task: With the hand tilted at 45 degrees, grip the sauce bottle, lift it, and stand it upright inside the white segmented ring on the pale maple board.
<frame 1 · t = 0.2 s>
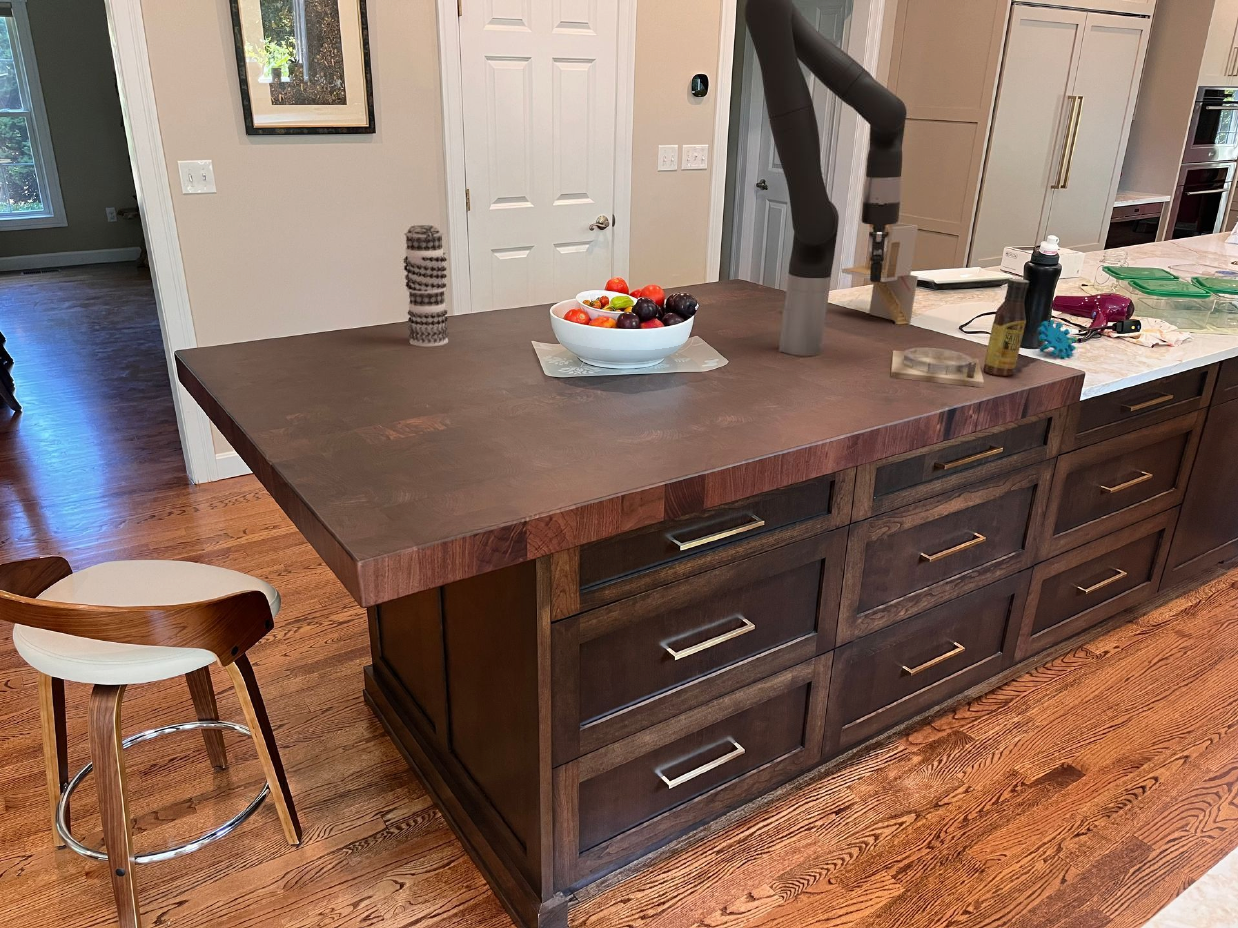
hand: (875, 278, 190), 18 cm above the countertop, tool pointing down, fingers open, 8 cm apart
sauce bottle: (998, 373, 190), on the countertop
white segmented ring: (938, 358, 188), on the maple board, point 3 cm above the countertop
teal virus model: (1054, 355, 206), on the countertop
decorative candle: (429, 342, 197), on the countertop
maple board: (935, 370, 190), on the countertop
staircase: (875, 322, 232), on the countertop
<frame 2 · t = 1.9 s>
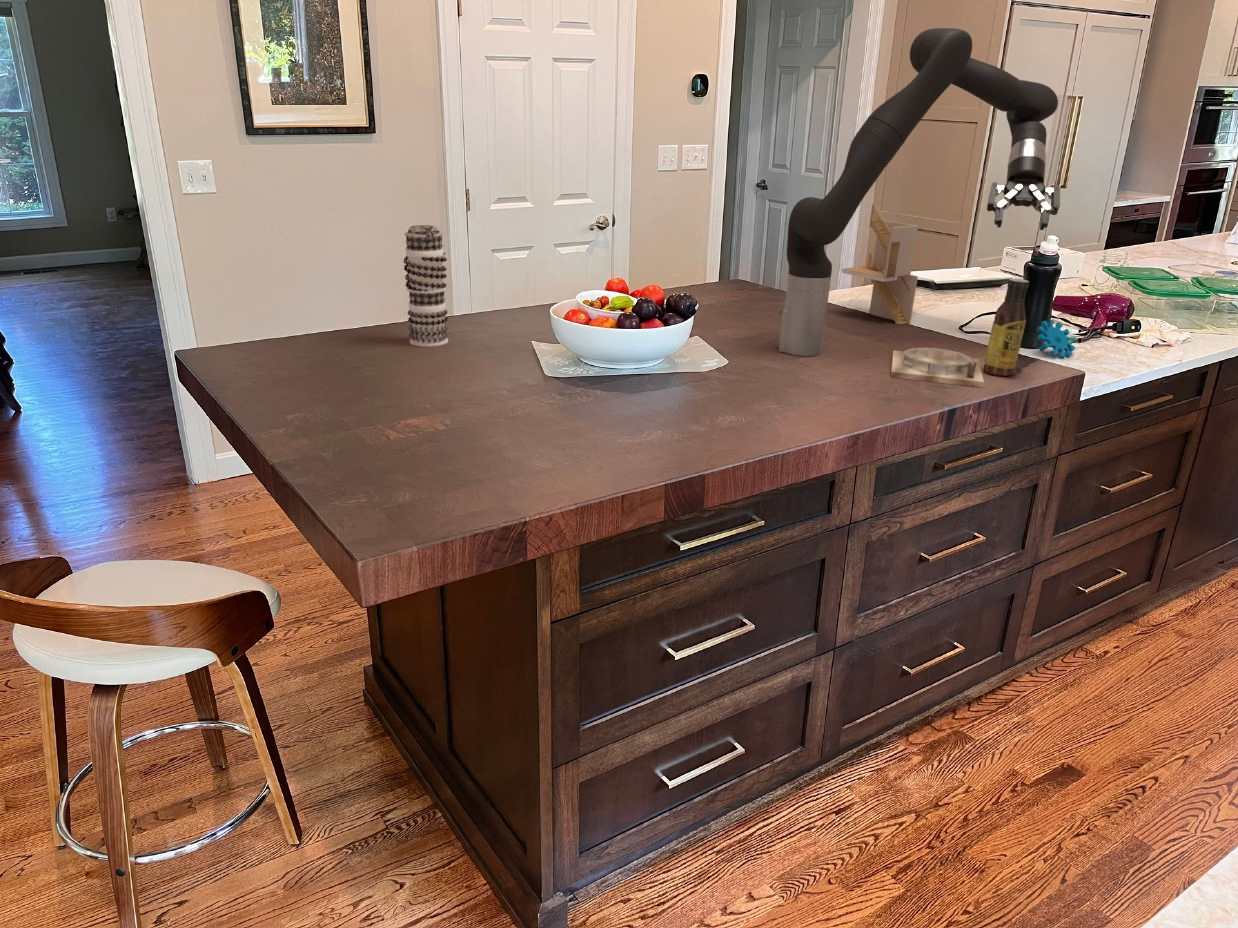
hand: (1021, 226, 189), 29 cm above the countertop, tool tilted 45°, fingers open, 8 cm apart
nothing on the countertop moved.
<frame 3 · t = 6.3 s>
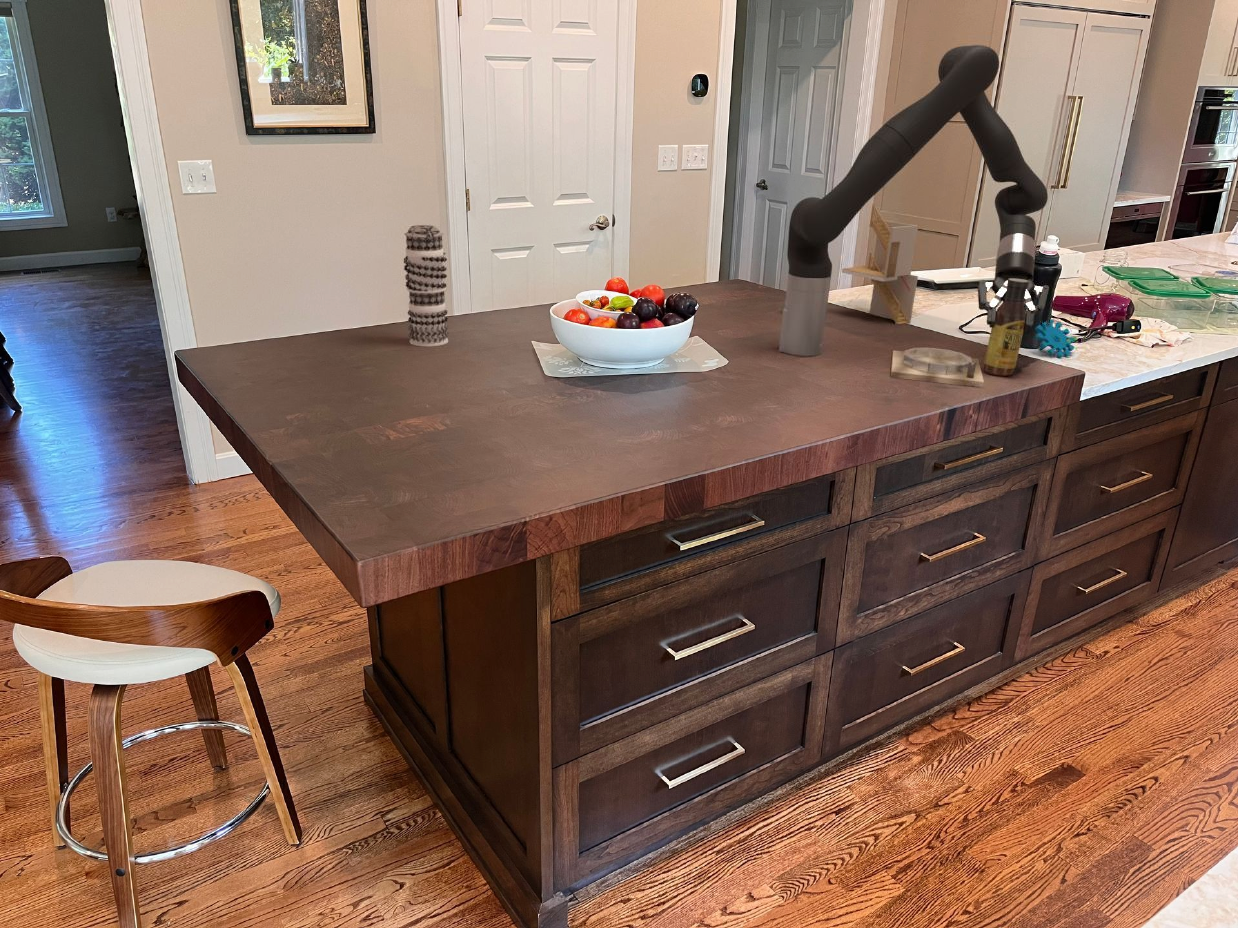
hand: (1009, 327, 184), 10 cm above the countertop, tool tilted 45°, fingers closed on sauce bottle, 6 cm apart
sauce bottle: (998, 373, 190), on the countertop, touching gripper
everything else where it was.
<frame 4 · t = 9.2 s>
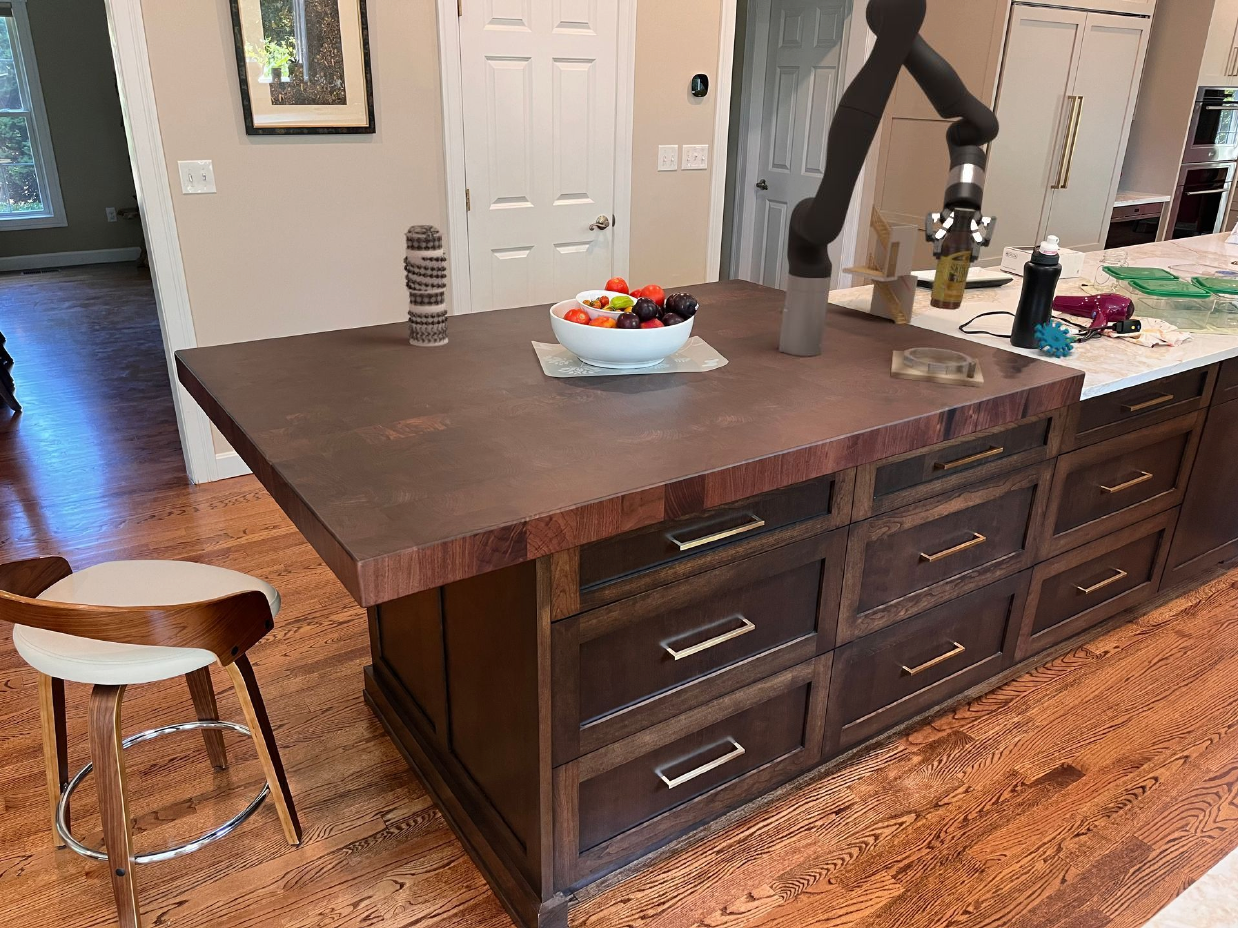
hand: (955, 258, 179), 24 cm above the countertop, tool tilted 45°, fingers closed on sauce bottle, 6 cm apart
sauce bottle: (945, 308, 185), point 13 cm above the countertop, touching gripper
when the fingers open (13 cm above the countertop, at t = 12.4 s): sauce bottle drops 1 cm, resting on maple board.
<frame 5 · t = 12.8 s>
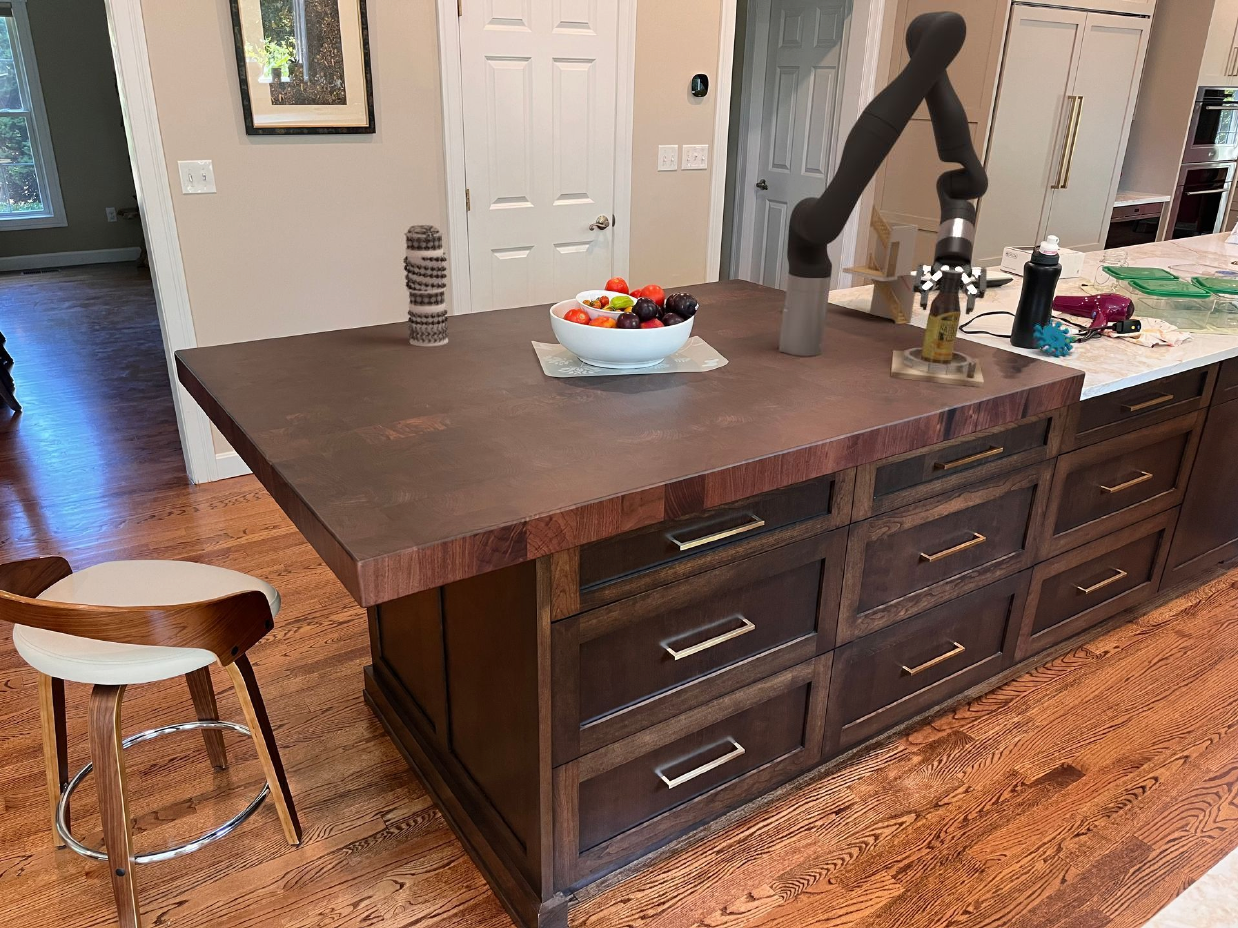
hand: (946, 310, 183), 13 cm above the countertop, tool tilted 45°, fingers open, 8 cm apart
sauce bottle: (935, 365, 189), point 1 cm above the countertop, touching maple board
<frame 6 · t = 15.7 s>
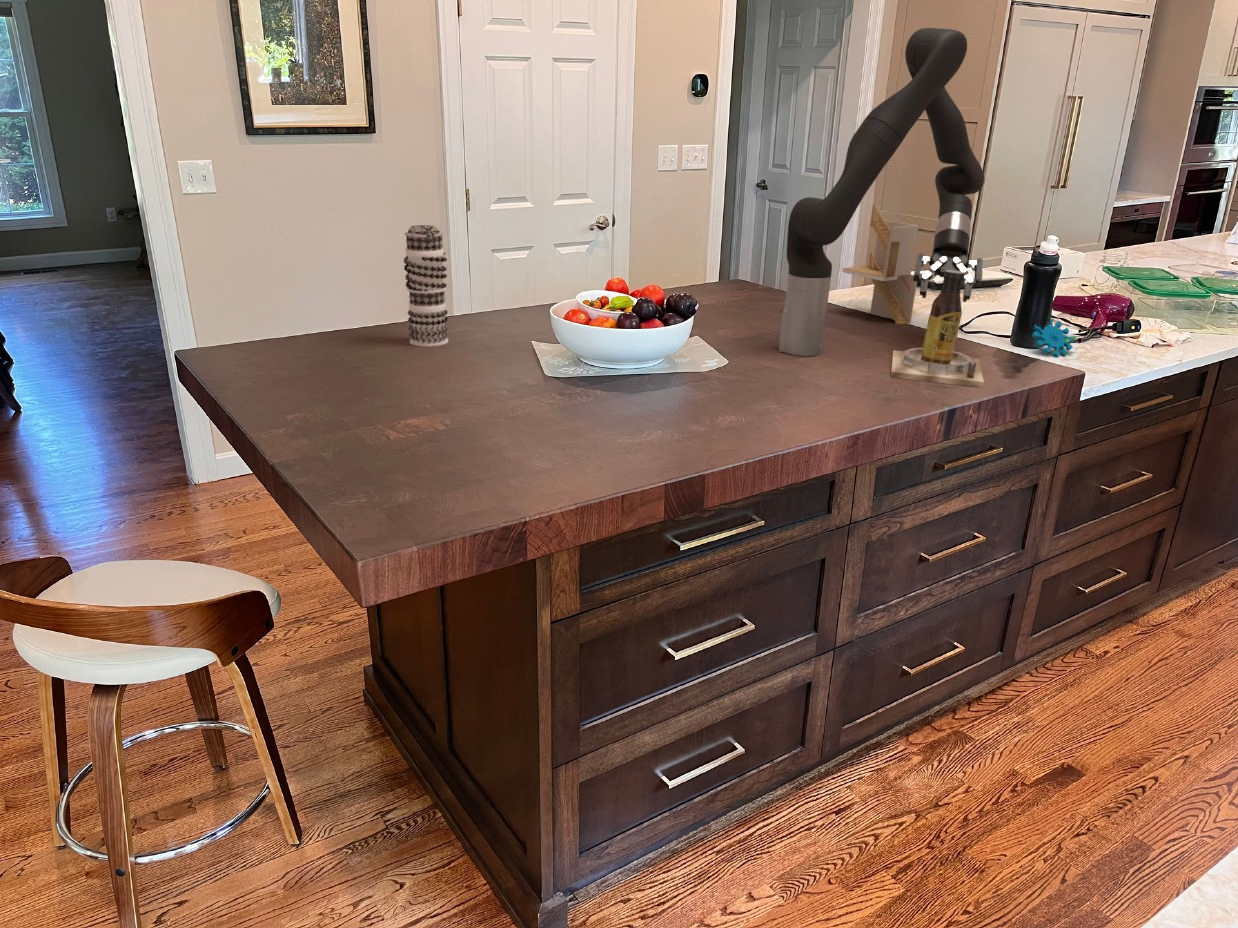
hand: (944, 298, 195), 13 cm above the countertop, tool tilted 45°, fingers open, 8 cm apart
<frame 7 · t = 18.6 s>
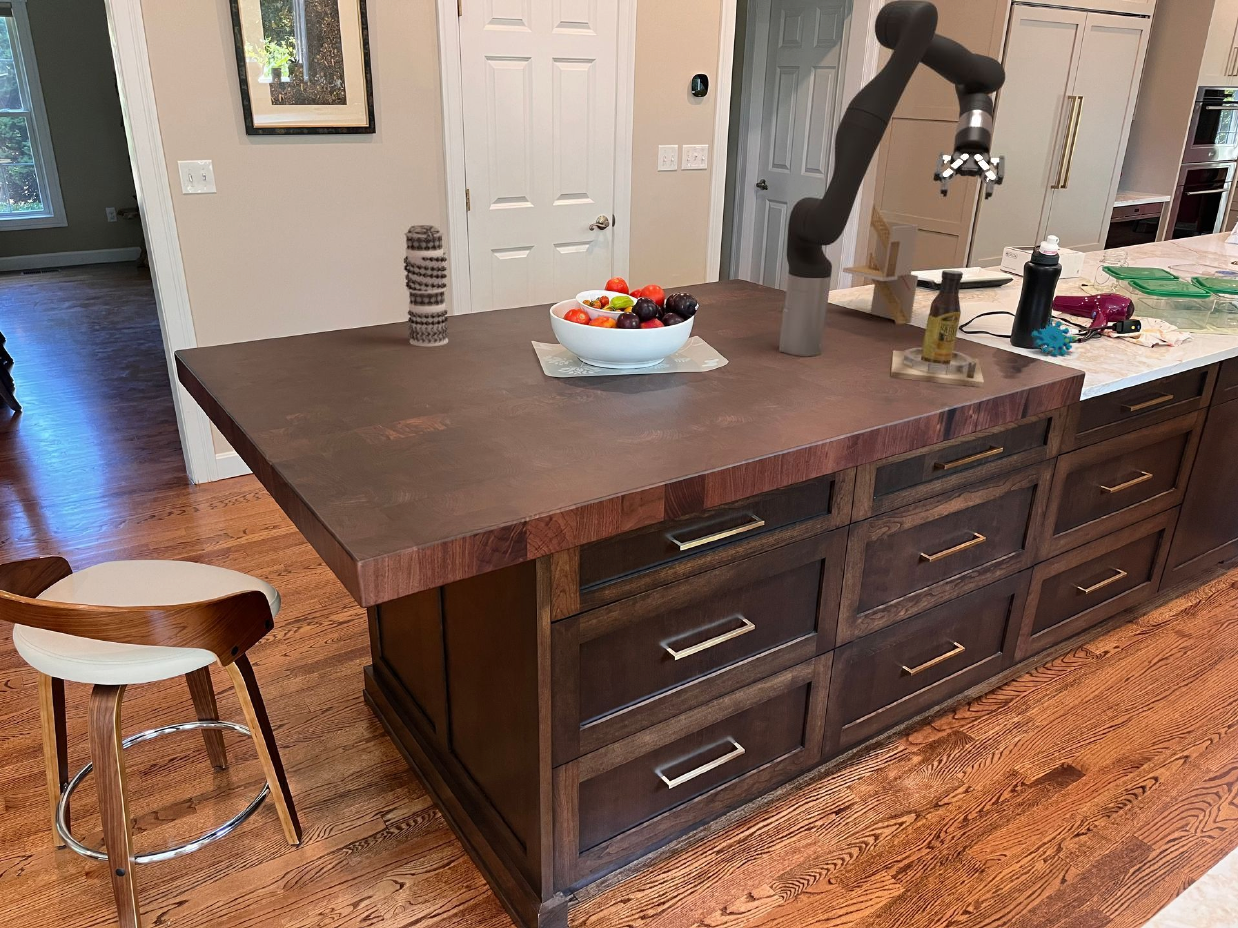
hand: (966, 195, 191), 35 cm above the countertop, tool tilted 45°, fingers open, 8 cm apart
at the end: sauce bottle 0.3 cm off-centre on the maple board, point 1.0 cm above the maple board's base; sauce bottle tilted 0°; the gripper is holding nothing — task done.
